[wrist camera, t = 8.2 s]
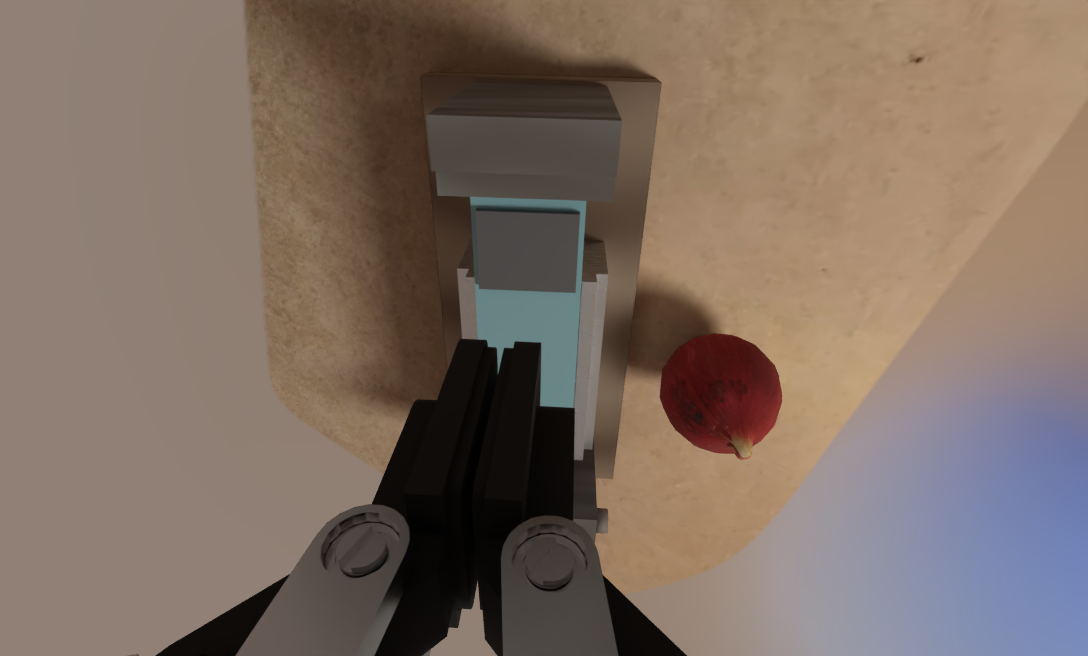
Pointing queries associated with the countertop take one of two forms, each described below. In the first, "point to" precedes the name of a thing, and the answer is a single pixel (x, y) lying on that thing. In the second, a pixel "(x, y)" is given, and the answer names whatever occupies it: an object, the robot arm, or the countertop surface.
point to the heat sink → (587, 332)
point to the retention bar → (531, 282)
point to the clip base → (596, 229)
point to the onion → (721, 393)
